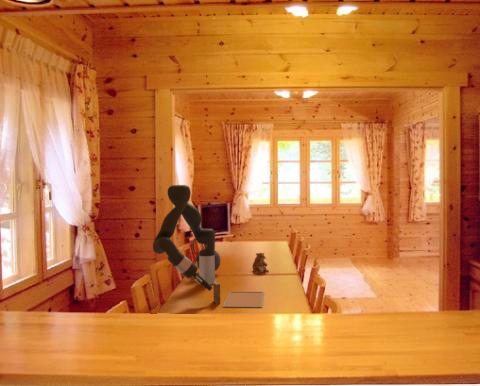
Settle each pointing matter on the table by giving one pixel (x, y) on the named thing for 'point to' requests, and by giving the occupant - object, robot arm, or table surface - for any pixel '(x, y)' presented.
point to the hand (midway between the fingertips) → (210, 289)
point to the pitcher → (216, 256)
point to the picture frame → (244, 300)
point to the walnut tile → (216, 292)
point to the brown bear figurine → (259, 264)
